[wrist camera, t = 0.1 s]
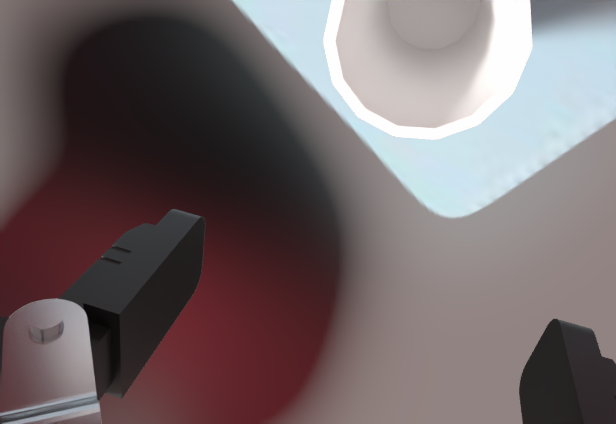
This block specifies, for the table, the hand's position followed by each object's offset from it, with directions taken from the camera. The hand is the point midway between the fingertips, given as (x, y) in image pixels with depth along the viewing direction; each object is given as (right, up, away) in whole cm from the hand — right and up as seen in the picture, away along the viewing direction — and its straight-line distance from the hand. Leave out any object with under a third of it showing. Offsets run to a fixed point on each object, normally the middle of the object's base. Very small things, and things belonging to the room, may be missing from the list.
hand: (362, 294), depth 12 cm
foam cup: (+7, +16, +24) cm, 29 cm away
